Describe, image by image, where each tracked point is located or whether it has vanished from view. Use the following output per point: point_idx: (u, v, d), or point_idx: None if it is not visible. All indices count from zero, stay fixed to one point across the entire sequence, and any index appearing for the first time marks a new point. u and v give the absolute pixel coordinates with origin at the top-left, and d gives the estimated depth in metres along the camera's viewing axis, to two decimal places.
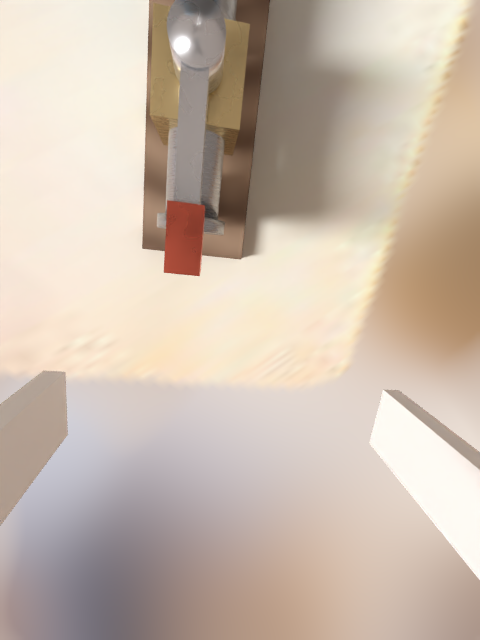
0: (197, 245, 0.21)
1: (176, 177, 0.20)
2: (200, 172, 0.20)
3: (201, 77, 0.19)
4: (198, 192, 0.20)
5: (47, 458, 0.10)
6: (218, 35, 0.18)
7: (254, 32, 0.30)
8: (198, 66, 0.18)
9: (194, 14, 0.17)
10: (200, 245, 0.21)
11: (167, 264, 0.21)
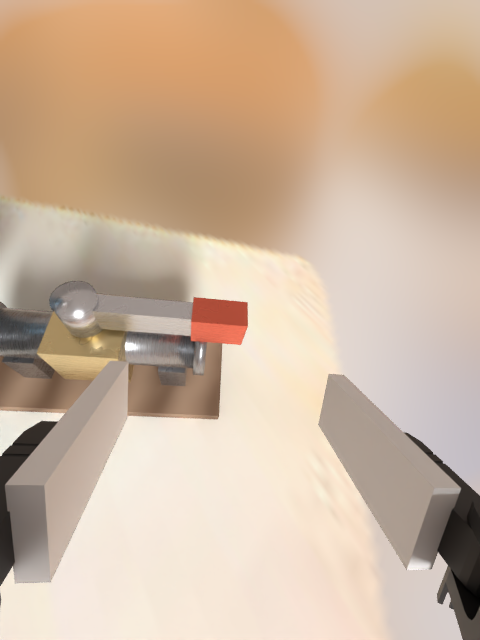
0: (224, 302, 0.27)
1: (173, 316, 0.25)
2: (169, 301, 0.26)
3: (104, 298, 0.25)
4: (184, 302, 0.26)
5: (117, 436, 0.11)
6: (79, 285, 0.25)
7: None
8: (97, 299, 0.25)
9: (63, 299, 0.24)
10: (223, 300, 0.27)
11: (240, 323, 0.26)
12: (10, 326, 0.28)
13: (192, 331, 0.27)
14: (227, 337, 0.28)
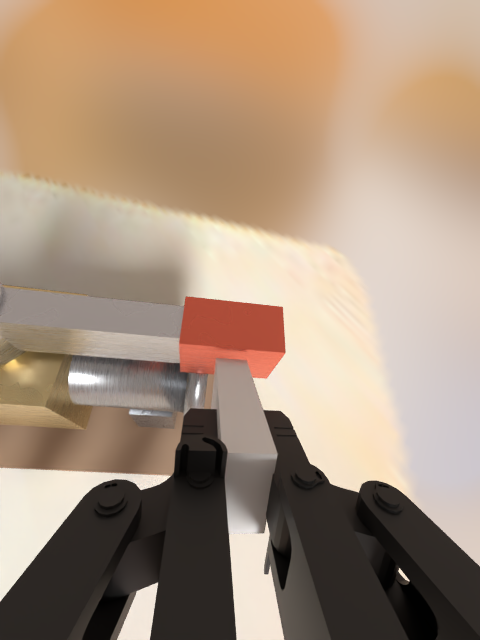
0: (241, 307, 0.15)
1: (145, 333, 0.13)
2: (140, 303, 0.14)
3: (13, 296, 0.13)
4: (167, 306, 0.14)
5: None
6: None
7: None
8: None
9: None
10: (240, 303, 0.15)
11: (272, 347, 0.14)
12: None
13: (182, 358, 0.15)
14: None
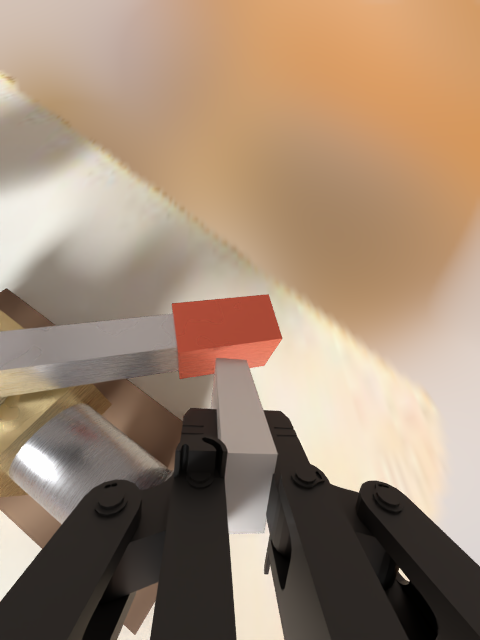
0: (229, 303, 0.14)
1: (140, 349, 0.13)
2: (126, 319, 0.13)
3: None
4: (155, 317, 0.14)
5: None
6: None
7: (28, 322, 0.27)
8: None
9: None
10: (228, 299, 0.15)
11: (269, 335, 0.14)
12: None
13: (181, 366, 0.14)
14: None
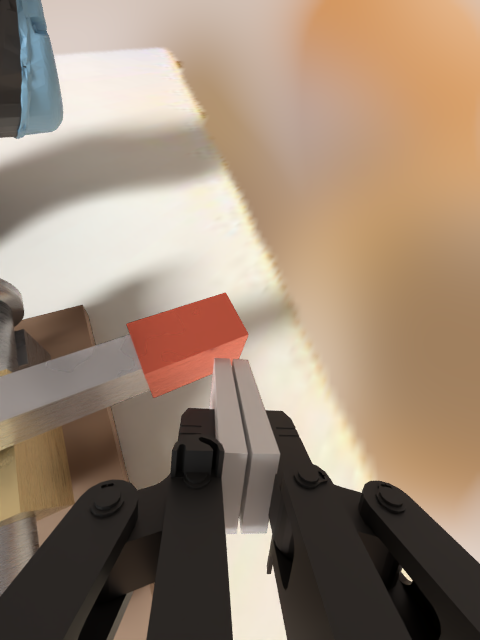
0: (187, 310, 0.14)
1: (102, 380, 0.12)
2: (80, 352, 0.12)
3: None
4: (111, 342, 0.13)
5: None
6: None
7: (77, 347, 0.27)
8: None
9: None
10: (185, 306, 0.14)
11: (235, 334, 0.14)
12: None
13: (152, 385, 0.14)
14: None
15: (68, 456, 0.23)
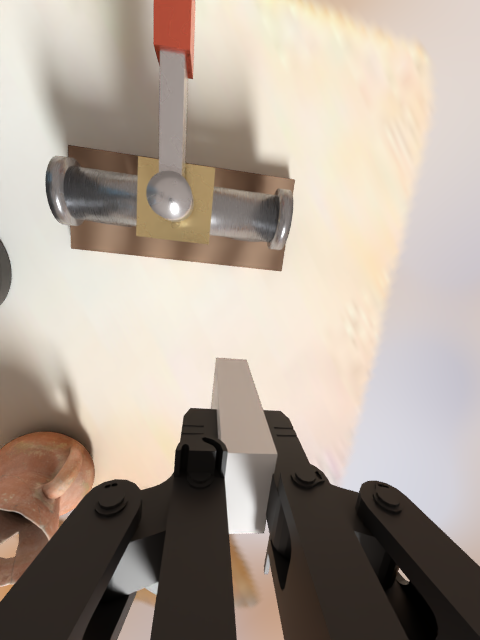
0: None
1: (182, 76, 0.22)
2: (160, 82, 0.22)
3: (164, 164, 0.23)
4: (161, 61, 0.21)
5: None
6: (152, 192, 0.23)
7: (108, 162, 0.35)
8: (167, 171, 0.23)
9: (171, 204, 0.23)
10: None
11: None
12: (98, 199, 0.28)
13: (191, 62, 0.23)
14: (193, 16, 0.22)
15: None
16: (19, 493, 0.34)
